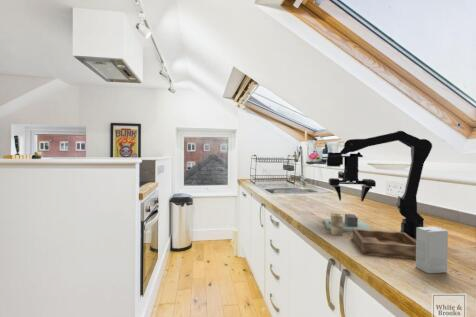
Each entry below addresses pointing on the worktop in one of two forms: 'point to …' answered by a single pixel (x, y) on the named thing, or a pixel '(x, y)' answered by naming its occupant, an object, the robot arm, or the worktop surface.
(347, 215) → the toolbox lid
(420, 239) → the skincare box
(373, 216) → the worktop surface
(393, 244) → the toolbox base
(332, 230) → the beige rectangular block
